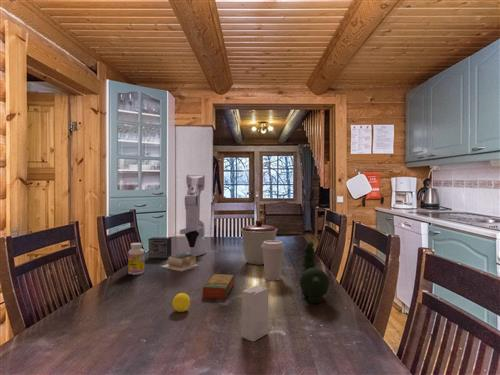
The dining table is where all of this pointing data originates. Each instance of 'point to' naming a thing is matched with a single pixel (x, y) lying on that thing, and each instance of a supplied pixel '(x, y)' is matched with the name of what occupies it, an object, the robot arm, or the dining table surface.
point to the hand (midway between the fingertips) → (191, 247)
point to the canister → (256, 241)
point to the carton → (218, 286)
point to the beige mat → (179, 268)
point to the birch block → (182, 260)
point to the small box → (160, 248)
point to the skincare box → (254, 313)
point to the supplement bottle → (136, 259)
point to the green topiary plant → (313, 277)
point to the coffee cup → (272, 259)
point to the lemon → (181, 302)
